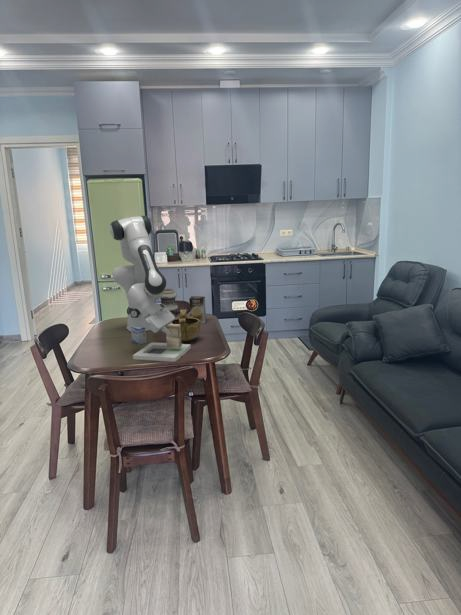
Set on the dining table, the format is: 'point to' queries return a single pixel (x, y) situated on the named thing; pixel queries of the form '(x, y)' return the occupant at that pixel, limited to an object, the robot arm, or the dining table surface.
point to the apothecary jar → (169, 300)
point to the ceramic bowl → (187, 326)
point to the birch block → (174, 336)
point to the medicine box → (138, 334)
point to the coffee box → (198, 308)
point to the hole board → (161, 352)
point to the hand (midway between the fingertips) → (172, 332)
